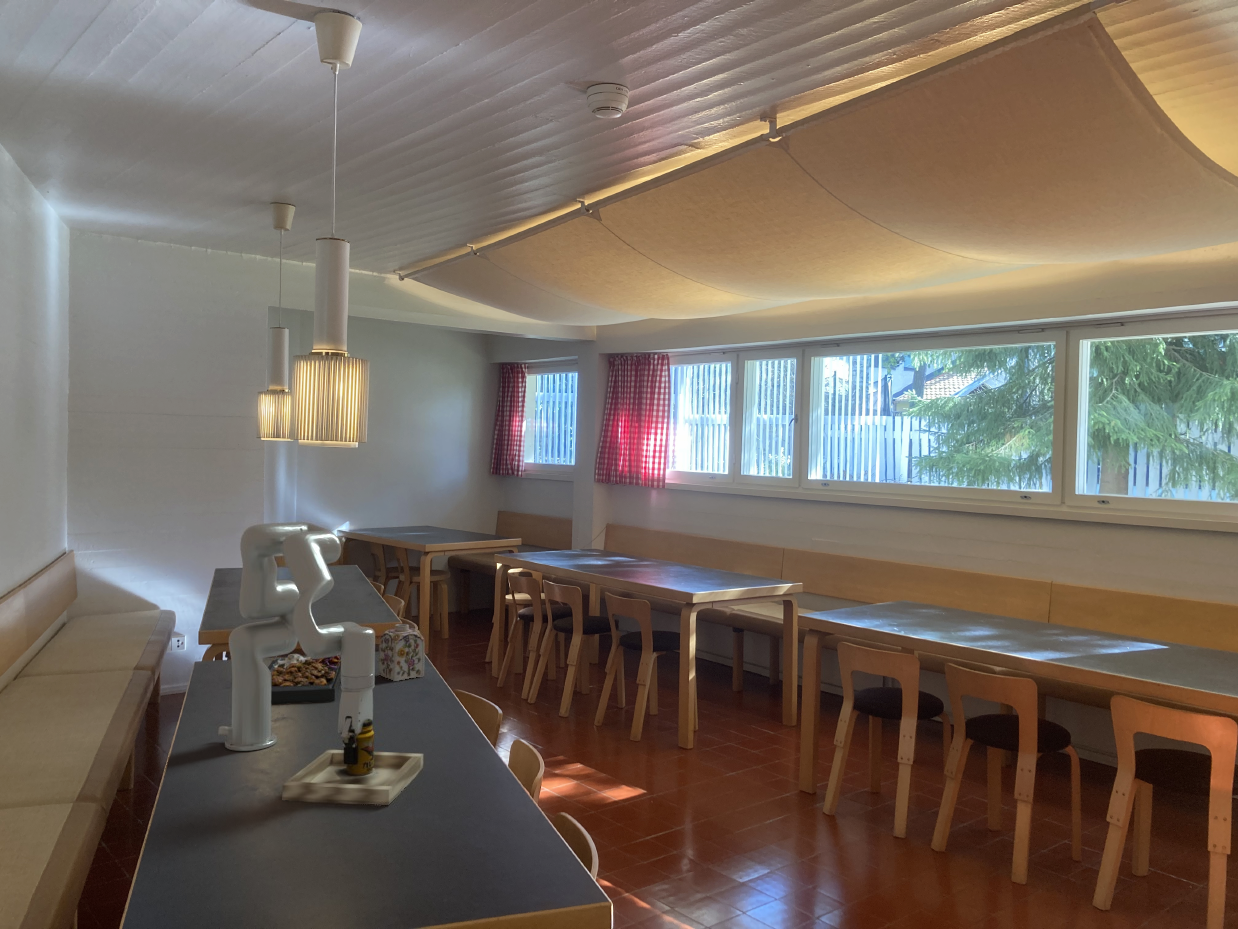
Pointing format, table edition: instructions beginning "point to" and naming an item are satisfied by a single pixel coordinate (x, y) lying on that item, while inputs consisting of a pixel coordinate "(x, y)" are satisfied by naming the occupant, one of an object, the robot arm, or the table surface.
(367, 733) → the condiment
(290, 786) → the tray
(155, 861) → the table surface
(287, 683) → the food platter
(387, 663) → the decorative jar
